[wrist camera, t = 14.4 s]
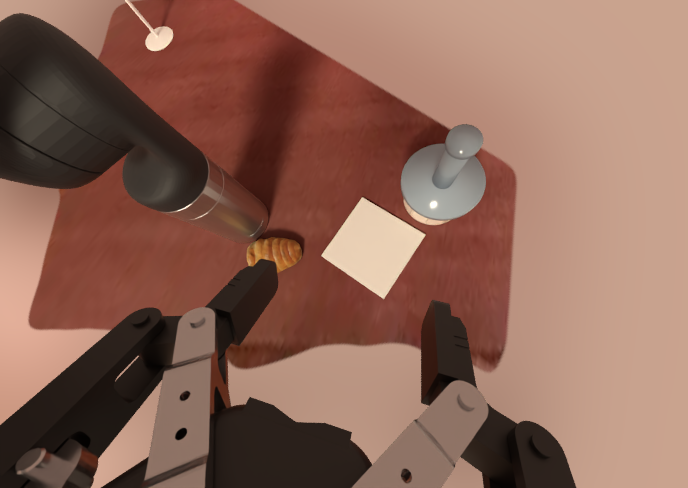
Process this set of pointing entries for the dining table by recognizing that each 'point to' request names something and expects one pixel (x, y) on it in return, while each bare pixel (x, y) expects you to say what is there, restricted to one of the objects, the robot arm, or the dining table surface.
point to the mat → (373, 247)
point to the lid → (445, 176)
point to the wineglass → (155, 33)
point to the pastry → (275, 252)
